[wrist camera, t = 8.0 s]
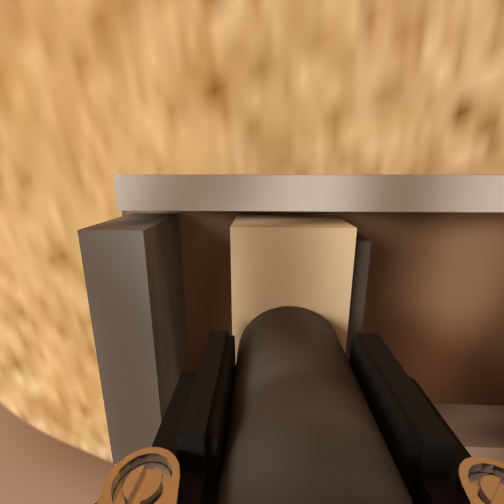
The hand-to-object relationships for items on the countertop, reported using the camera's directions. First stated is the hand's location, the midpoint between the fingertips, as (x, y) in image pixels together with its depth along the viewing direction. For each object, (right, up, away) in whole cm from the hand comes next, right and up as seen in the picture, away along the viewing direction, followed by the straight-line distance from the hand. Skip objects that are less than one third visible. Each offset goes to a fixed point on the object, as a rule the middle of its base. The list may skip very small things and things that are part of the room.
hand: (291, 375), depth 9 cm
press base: (+5, +1, +6) cm, 8 cm away
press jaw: (0, +1, +4) cm, 4 cm away
